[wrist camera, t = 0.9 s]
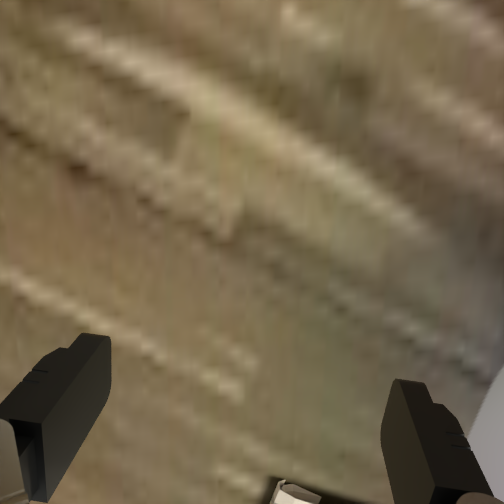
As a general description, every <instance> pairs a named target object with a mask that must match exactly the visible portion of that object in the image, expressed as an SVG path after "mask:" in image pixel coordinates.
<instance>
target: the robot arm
mask: <svg viewBox="0 0 504 504" xmlns="http://www.w3.org/2000/svg"><path fill="white" fill-rule="evenodd" d="M110 389H111V339H110V337H109V336H103V335H96V334H89V333H81V334H80V335H79V336H78V337H77V339H76V340H75V341H74V342H73V343H72V344H71V346H70V347H69V348H68V349H67V348H58V349H56V350H55V351H53V352H51V353H49V354H47V355H46V356H44V357H43V358H42V359H41V360H40V361H39V362H38V363H37V364H36V365H35V366H34V367H33V369H32V371H31V372H29V373H28V374H27V375H26V376H25V377H24V378H23V381H22V382H20V383H19V384H18V385H17V386H16V387H15V388H14V389H13V391H12V392H11V393H10V394H9V395H8V396H7V397H6V398H5V399H4V400H3V402H2V403H1V404H0V504H29V502H30V501H31V500H33V501H39V502H45V503H48V501H49V499H50V498H51V496H52V494H53V493H54V491H55V489H56V488H57V486H58V484H59V482H60V481H61V479H62V477H63V476H64V474H65V472H66V470H67V469H68V467H69V465H70V464H71V462H72V460H73V459H74V457H75V455H76V453H77V452H78V450H79V448H80V447H81V445H82V443H83V441H84V440H85V438H86V436H87V435H88V433H89V431H90V430H91V428H92V426H93V424H94V423H95V421H96V419H97V418H98V416H99V414H100V413H101V411H102V409H103V407H104V406H105V404H106V402H107V399H108V396H109V393H110ZM381 447H382V452H383V456H384V460H385V464H386V469H387V473H388V477H389V481H390V486H391V490H392V494H393V499H394V503H395V504H504V502H502V501H500V500H499V499H497V498H495V497H494V495H493V493H492V491H491V489H490V487H489V485H488V483H487V481H486V479H485V476H484V474H483V472H482V470H481V468H480V466H479V464H478V462H477V460H476V458H475V455H474V453H473V451H471V447H470V445H469V443H468V441H467V439H466V438H465V437H464V432H463V430H462V428H461V426H460V424H459V422H458V420H457V418H456V417H455V416H454V415H453V414H452V413H451V412H450V411H449V410H448V409H447V408H446V407H445V406H444V405H443V404H437V403H433V401H432V399H431V397H430V394H429V392H428V390H427V387H426V385H425V384H424V383H422V382H416V381H409V380H402V379H395V380H394V381H393V384H392V387H391V390H390V394H389V398H388V402H387V405H386V409H385V413H384V417H383V420H382V425H381Z"/></svg>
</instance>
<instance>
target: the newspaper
mask: <svg viewBox="0 0 504 504" xmlns="http://www.w3.org/2000/svg"><path fill="white" fill-rule="evenodd" d="M285 481H286V479H285V480H282V481H280V482H278V484H277V487H276V489H275V492H274V494H273V496H272V499H271V501H270V504H319V502H320V499H321V497H320V496H318V495H316V494H314V493H311V492H309V491H307V490H305V489H303V488H301V487H299V486H297V485H294V484H288V485H284V483H285Z"/></svg>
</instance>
